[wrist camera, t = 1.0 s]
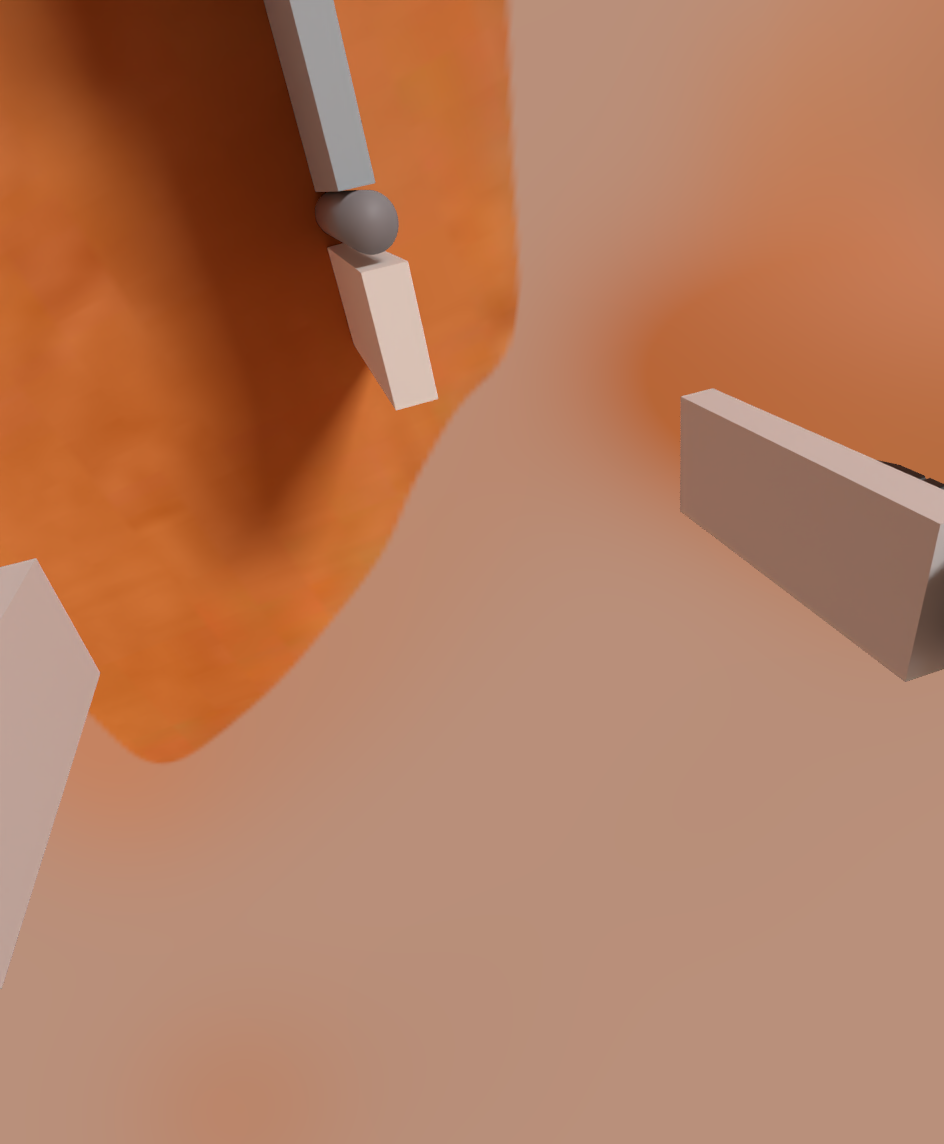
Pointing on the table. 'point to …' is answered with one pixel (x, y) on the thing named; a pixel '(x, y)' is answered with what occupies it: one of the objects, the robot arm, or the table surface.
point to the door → (330, 124)
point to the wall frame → (385, 322)
